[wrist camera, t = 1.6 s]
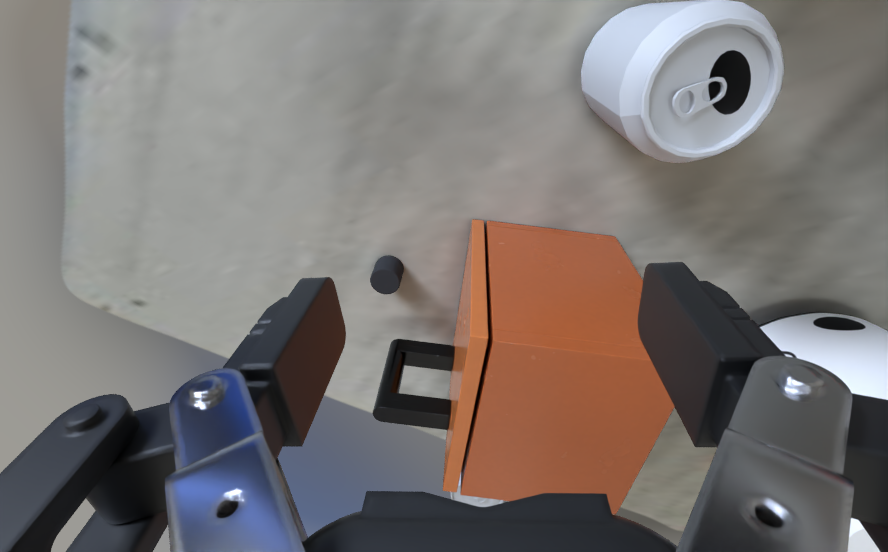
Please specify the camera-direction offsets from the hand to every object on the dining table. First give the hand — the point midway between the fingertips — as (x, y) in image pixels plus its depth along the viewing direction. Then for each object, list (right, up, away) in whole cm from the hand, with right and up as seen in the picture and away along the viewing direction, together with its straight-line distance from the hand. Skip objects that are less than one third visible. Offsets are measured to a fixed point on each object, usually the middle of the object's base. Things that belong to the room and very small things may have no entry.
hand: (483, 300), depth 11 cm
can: (+12, +15, +19) cm, 27 cm away
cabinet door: (-2, 0, +29) cm, 29 cm away
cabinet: (+7, -1, +29) cm, 30 cm away
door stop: (-6, +1, +29) cm, 29 cm away
